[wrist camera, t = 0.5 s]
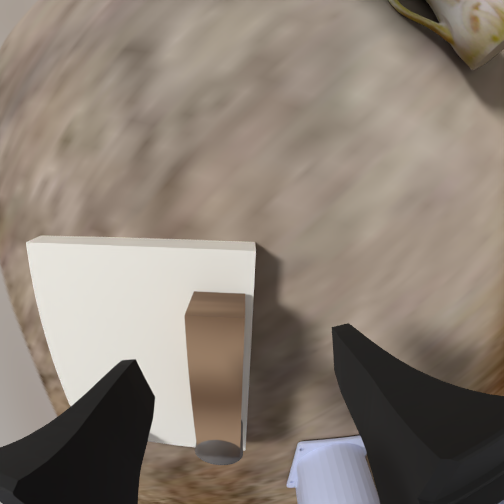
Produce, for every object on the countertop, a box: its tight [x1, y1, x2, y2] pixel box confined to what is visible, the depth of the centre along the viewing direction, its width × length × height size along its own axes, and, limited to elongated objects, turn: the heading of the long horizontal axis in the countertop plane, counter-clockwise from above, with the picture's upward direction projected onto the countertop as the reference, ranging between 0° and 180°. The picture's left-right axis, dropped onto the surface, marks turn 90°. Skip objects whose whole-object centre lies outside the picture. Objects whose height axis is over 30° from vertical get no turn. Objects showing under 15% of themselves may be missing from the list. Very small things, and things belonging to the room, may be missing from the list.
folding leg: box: [184, 291, 245, 465], centre depth 18 cm, size 13×3×3 cm, turn 177°
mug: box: [388, 0, 504, 70], centre depth 12 cm, size 8×10×10 cm
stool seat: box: [26, 236, 256, 450], centre depth 19 cm, size 18×16×4 cm
